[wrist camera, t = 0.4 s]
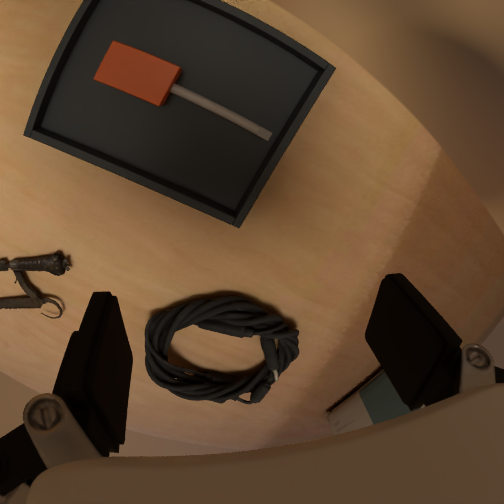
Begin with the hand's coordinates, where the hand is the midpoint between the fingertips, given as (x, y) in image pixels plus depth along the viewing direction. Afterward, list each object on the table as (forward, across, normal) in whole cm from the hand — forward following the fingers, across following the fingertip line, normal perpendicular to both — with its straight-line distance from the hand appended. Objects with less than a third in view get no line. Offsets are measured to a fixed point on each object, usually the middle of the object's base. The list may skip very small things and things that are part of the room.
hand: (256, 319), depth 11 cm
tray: (+17, +4, -8) cm, 19 cm away
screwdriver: (+16, +2, -7) cm, 18 cm away
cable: (+17, 0, +18) cm, 25 cm away
